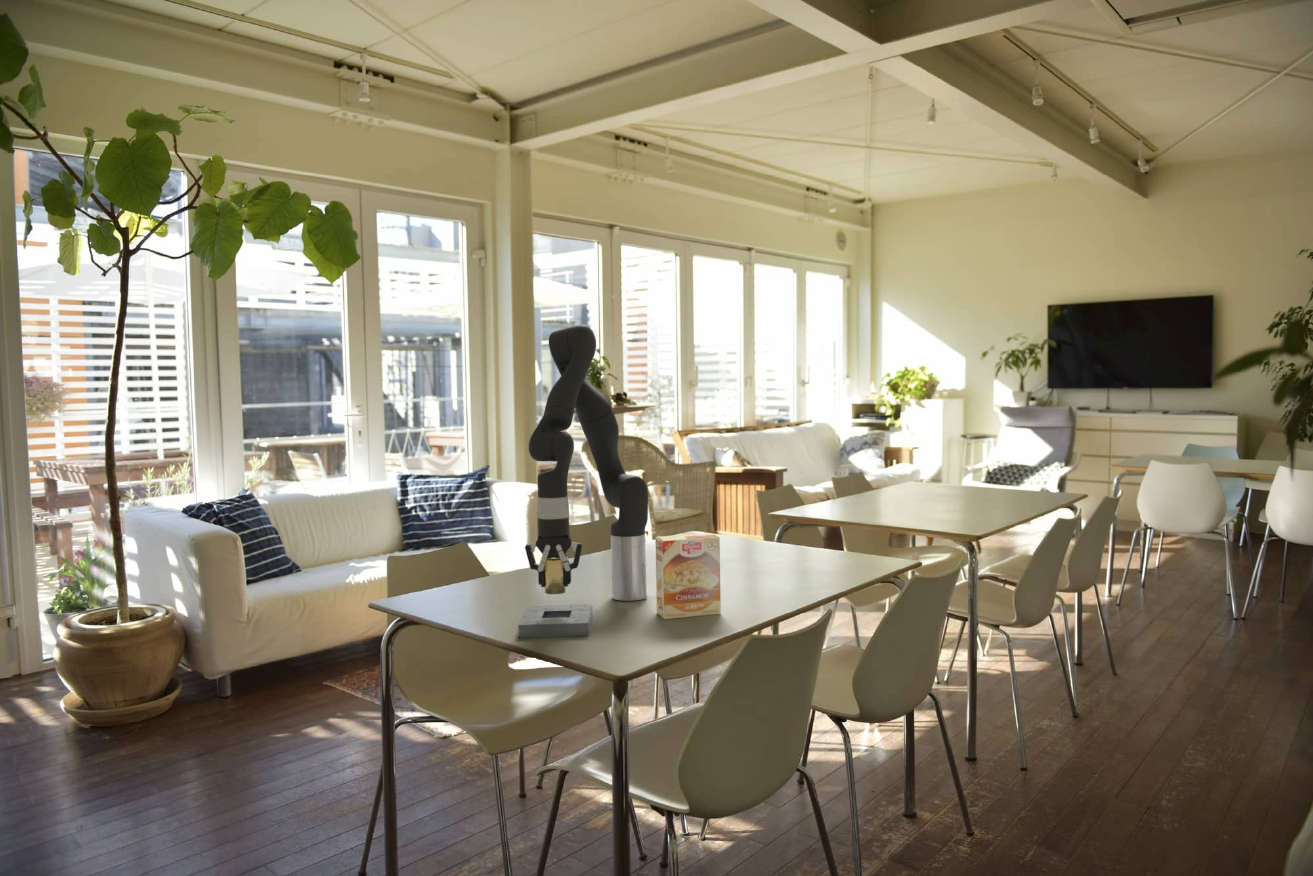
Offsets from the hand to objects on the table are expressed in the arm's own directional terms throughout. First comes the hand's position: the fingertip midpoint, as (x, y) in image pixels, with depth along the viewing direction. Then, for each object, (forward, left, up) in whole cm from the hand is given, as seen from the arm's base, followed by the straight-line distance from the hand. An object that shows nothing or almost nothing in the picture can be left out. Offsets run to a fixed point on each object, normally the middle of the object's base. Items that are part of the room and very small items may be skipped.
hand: (554, 586), depth 220 cm
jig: (0, 0, -10) cm, 10 cm away
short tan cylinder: (0, 0, -1) cm, 1 cm away
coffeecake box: (-32, -9, -10) cm, 35 cm away
